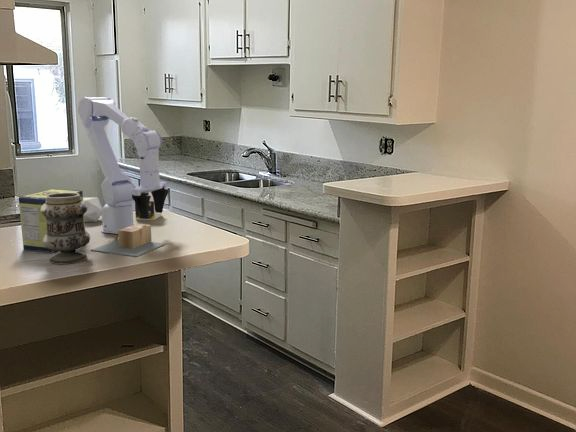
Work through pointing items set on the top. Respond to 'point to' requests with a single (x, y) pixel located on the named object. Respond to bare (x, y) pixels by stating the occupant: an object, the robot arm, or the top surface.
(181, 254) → the top surface
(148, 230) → the oak block
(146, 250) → the slate mat
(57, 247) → the apothecary jar
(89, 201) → the die
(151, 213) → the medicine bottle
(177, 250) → the top surface
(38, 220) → the protein box
